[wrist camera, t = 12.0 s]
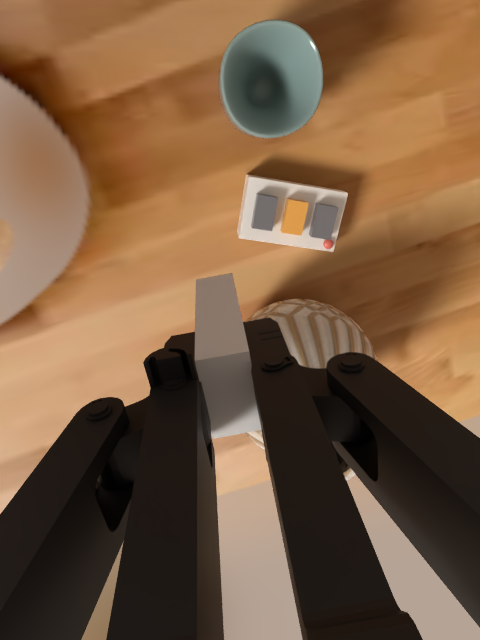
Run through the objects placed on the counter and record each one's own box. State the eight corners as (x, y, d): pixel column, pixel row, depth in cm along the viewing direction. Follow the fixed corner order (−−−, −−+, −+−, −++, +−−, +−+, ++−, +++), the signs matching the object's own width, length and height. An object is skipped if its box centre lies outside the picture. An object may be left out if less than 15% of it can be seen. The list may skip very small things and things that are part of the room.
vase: (378, 337, 52) (473, 448, 34) (286, 421, 56) (326, 560, 38) (287, 252, 47) (341, 328, 28) (193, 350, 51) (186, 472, 32)
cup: (294, 39, 39) (321, 9, 30) (301, 131, 42) (328, 130, 33) (209, 52, 39) (211, 26, 30) (223, 143, 42) (228, 146, 33)
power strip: (236, 231, 46) (239, 240, 42) (246, 173, 43) (250, 177, 40) (325, 245, 47) (336, 255, 43) (339, 189, 45) (352, 194, 41)
